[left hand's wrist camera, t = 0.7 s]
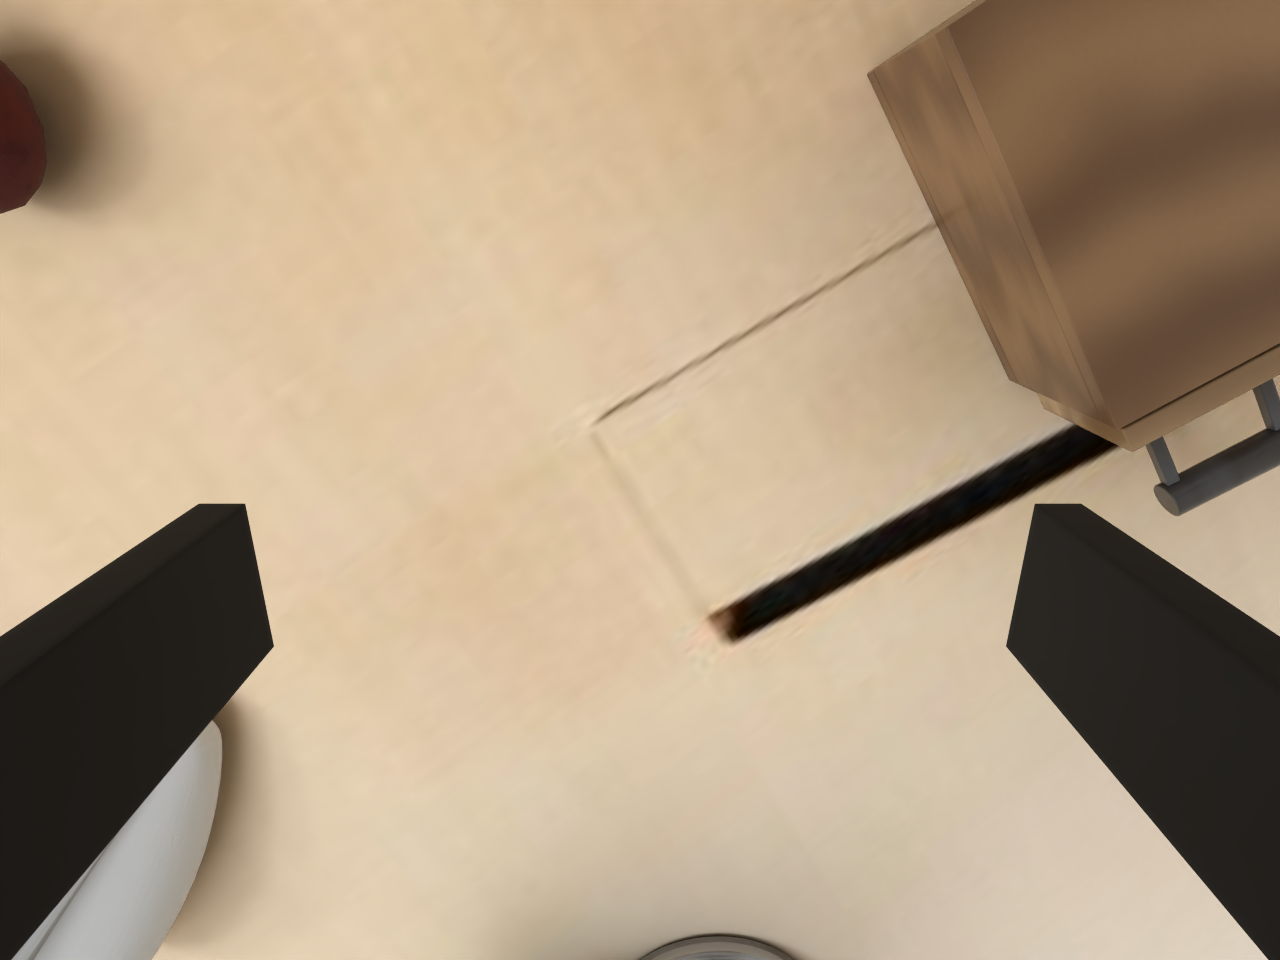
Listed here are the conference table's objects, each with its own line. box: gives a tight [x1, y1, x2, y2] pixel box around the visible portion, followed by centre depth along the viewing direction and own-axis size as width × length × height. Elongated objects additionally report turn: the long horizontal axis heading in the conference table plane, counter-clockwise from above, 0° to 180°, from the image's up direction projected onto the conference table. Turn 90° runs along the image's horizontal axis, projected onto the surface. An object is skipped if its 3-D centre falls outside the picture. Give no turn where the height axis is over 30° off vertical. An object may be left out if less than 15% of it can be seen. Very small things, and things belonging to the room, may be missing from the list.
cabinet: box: [867, 0, 1280, 429], centre depth 30 cm, size 17×11×9 cm, turn 32°
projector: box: [12, 721, 222, 960], centre depth 41 cm, size 22×23×15 cm
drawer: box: [1037, 343, 1280, 516], centre depth 32 cm, size 21×10×7 cm, turn 32°
